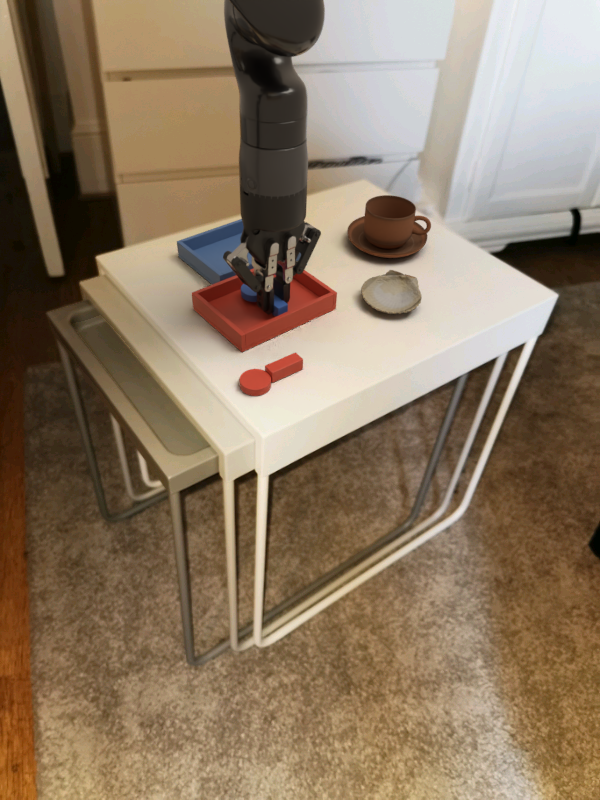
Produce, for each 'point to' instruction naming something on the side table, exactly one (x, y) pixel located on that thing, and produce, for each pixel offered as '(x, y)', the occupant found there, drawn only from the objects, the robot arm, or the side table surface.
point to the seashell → (392, 292)
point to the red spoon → (269, 374)
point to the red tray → (249, 321)
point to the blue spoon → (251, 296)
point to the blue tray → (213, 251)
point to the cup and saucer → (389, 228)
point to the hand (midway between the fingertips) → (273, 307)
